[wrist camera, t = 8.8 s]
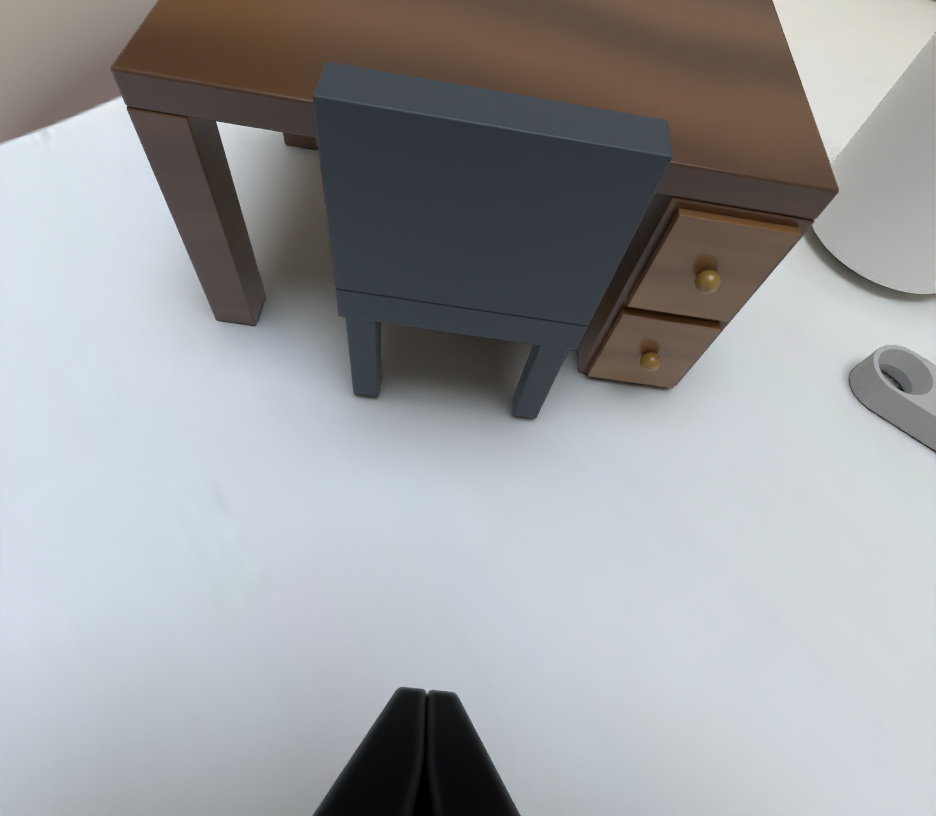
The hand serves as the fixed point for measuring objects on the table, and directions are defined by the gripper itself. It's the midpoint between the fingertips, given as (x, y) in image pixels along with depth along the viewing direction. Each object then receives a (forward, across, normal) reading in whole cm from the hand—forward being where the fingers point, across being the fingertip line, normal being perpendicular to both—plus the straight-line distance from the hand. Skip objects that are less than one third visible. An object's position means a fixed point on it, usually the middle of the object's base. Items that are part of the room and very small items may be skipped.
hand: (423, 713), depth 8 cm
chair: (+16, 0, -3) cm, 16 cm away
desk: (+19, 0, -7) cm, 20 cm away
